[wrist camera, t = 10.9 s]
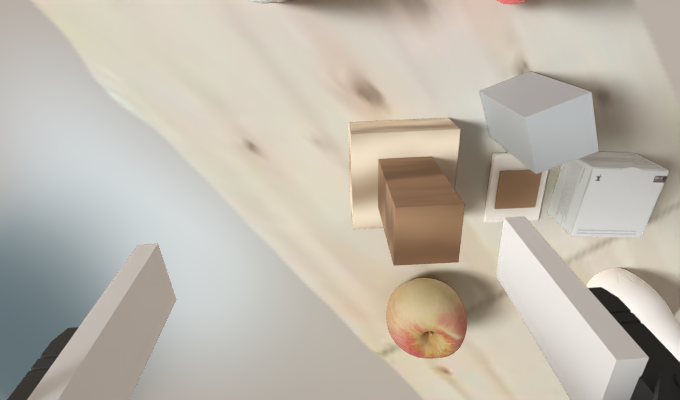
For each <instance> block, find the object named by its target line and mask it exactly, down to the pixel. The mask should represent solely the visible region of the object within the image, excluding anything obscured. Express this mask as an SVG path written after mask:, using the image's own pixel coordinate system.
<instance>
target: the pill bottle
mask: <svg viewBox="0 0 680 400" xmlns="http://www.w3.org/2000/svg"><path fill="white" fill-rule="evenodd" d="M249 1H252V2H257V3H278V2H282V1H286V0H249Z"/></svg>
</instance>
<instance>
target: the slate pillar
mask: <svg viewBox="0 0 680 400" xmlns="http://www.w3.org/2000/svg"><path fill="white" fill-rule="evenodd" d="M479 94H480V98H481V102H482V106H483V110H484V114H485V118H486V122H487V126H488V130H489V134H490V137H491V138H492V139H493V140H494V141H496V142H497V143H498V144H499V145H501V146H502V147H503V148H504V149H506V150H507V151H508V152H509V153H511V154H512V155H513V156H514V157H515V158H517V159H518V160H519V161H520V162H522V163H523V164H524V165H525V166H527V167H528V168H529V169H530V170H531V171H533V172H534V173H535V174H538V173H541V172H543V171H546V170H549V169H552V168H554V167H557V166H560V165H562V164H565V163H568V162H571V161H573V160H576V159H579V158H582V157H584V156H587V155H590V154H593V153H595V152H598V151H599V149H598V141H597V133H596V125H595V117H594V108H593V100H592V92H591V91H588V90H585V89H582V88H579V87H576V86H573V85H570V84H567V83H564V82H561V81H558V80H555V79H552V78H549V77H546V76H543V75H540V74H537V73H534V72H531V71H528V72H526V73H523V74H521V75H518V76H516V77H513V78H511V79H508V80H506V81H503V82H501V83H498V84H496V85H493V86H491V87H488V88H486V89H483V90H481V91H479Z"/></svg>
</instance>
